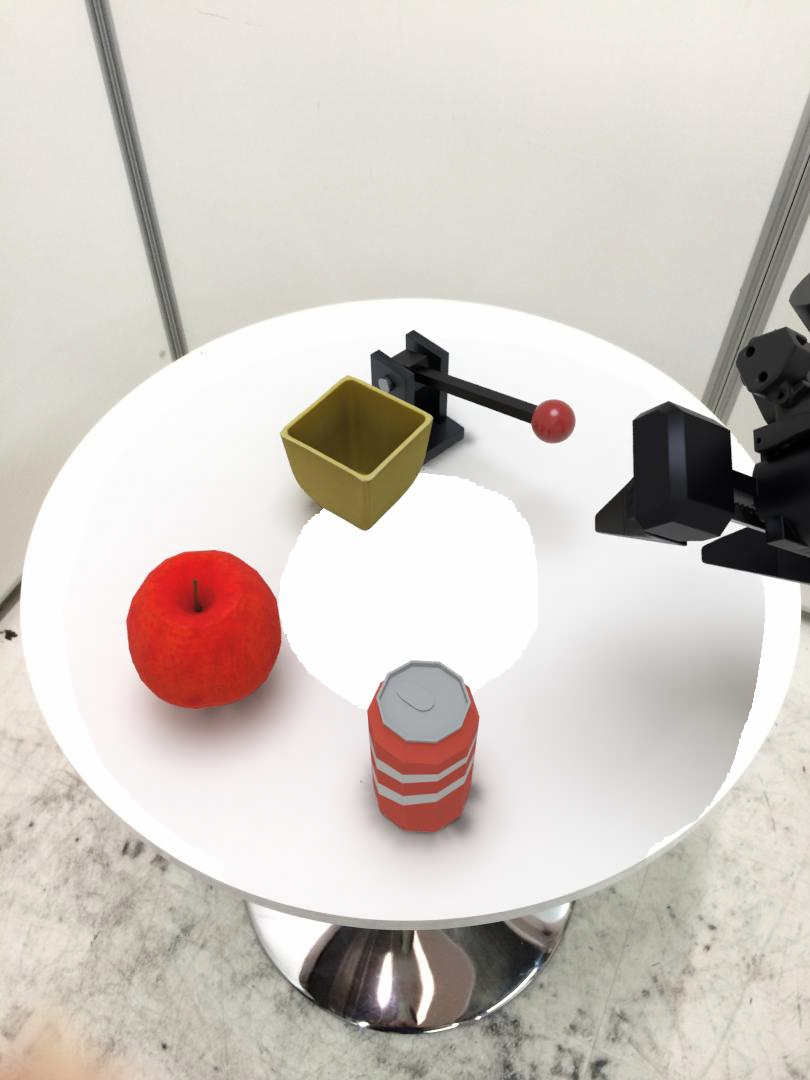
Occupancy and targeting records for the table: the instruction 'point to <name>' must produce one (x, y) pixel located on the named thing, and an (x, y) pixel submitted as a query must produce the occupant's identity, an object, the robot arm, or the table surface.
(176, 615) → the apple
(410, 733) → the beverage can
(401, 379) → the bracket
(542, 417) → the lever
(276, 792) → the table surface
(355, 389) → the flower pot
